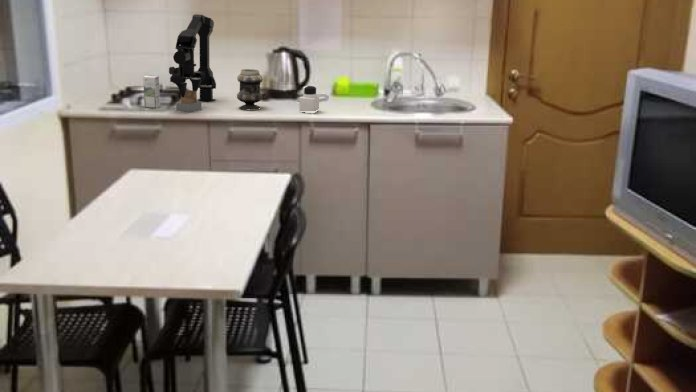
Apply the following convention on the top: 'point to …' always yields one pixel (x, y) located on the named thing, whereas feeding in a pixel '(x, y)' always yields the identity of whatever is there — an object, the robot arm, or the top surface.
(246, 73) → the apothecary jar
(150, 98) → the syrup box
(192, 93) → the walnut cube
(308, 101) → the medicine bottle
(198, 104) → the stoneware block
